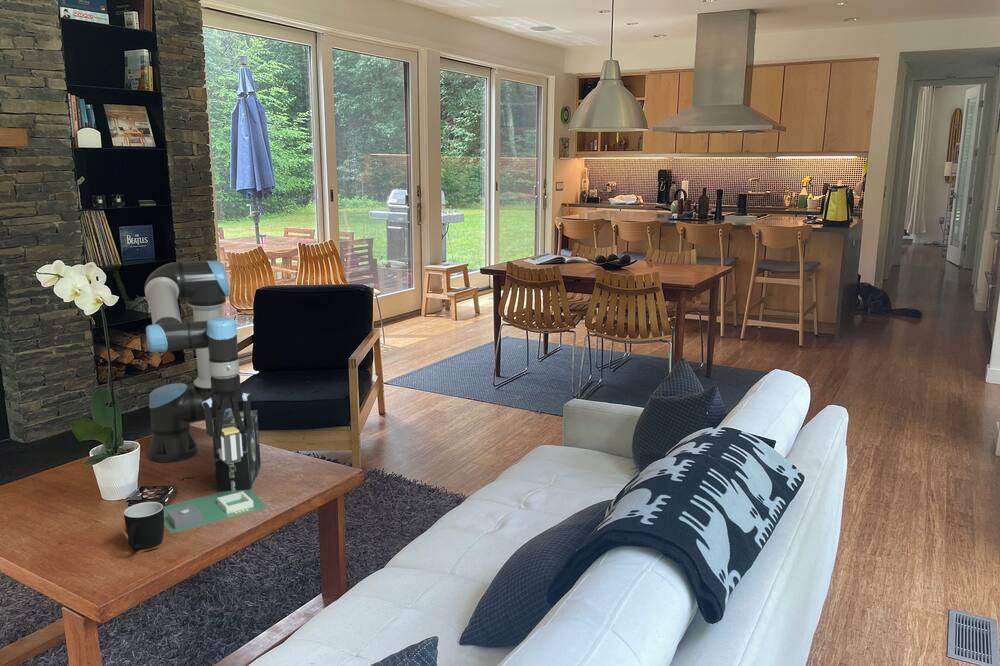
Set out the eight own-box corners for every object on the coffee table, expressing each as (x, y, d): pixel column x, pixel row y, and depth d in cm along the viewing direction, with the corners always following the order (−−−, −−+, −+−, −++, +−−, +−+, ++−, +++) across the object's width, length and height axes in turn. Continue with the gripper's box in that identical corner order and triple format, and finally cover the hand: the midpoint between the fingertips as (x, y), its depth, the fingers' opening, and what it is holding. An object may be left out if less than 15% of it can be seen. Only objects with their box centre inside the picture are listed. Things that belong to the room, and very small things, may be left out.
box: (251, 494, 225) (247, 433, 221) (216, 496, 223) (211, 435, 219) (262, 465, 247) (258, 409, 243) (229, 467, 245) (225, 410, 241)
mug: (139, 537, 197) (135, 501, 195) (173, 538, 196) (169, 502, 194) (113, 561, 185) (109, 522, 183) (150, 562, 185) (146, 523, 183)
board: (153, 512, 211) (151, 498, 210) (245, 489, 227) (245, 476, 226) (171, 536, 197) (169, 522, 197) (268, 510, 213) (267, 496, 212)
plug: (221, 460, 211) (219, 429, 210) (236, 457, 214) (234, 426, 212) (227, 465, 208) (225, 433, 206) (242, 461, 210) (239, 430, 208)
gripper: (196, 383, 198) (203, 468, 203) (261, 372, 208) (266, 454, 213) (188, 377, 204) (195, 460, 209) (251, 367, 214) (256, 446, 219)
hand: (231, 456), depth 211 cm, fingers closed on plug, 4 cm apart
